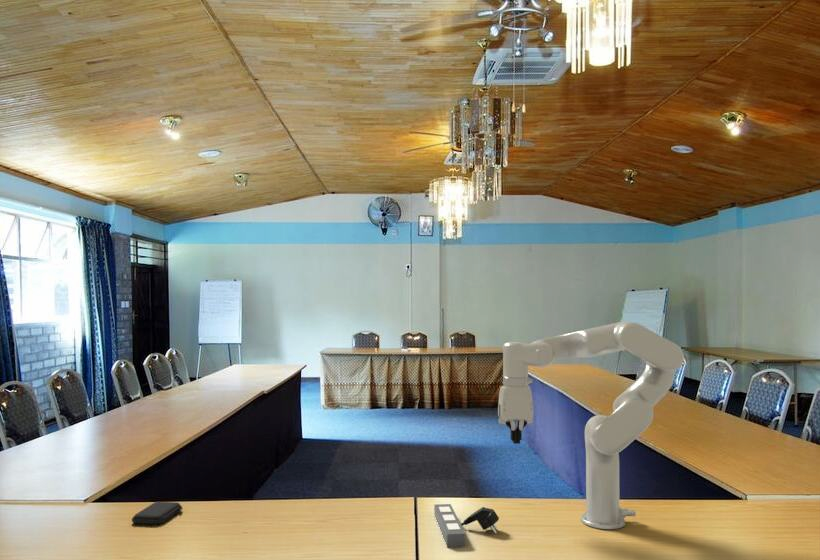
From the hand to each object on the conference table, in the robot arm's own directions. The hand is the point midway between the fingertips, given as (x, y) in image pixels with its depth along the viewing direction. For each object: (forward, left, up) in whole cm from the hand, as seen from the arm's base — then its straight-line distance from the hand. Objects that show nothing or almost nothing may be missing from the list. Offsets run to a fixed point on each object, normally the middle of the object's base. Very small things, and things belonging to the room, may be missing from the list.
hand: (516, 442), depth 188 cm
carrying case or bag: (+108, -12, -24) cm, 111 cm away
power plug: (+14, +8, -23) cm, 28 cm away
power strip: (+22, +7, -23) cm, 33 cm away
